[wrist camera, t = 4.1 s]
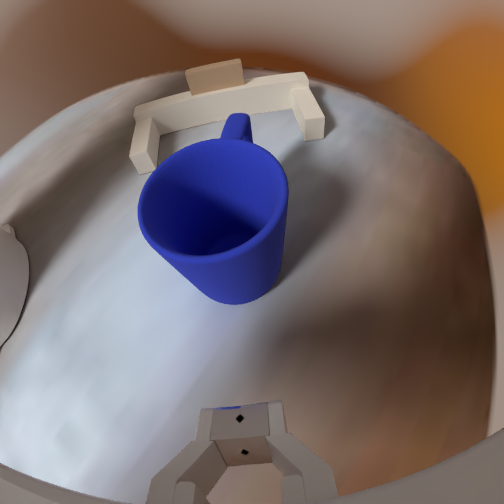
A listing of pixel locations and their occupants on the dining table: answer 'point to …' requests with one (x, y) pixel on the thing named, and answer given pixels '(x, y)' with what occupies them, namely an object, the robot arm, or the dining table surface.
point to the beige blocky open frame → (221, 106)
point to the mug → (219, 214)
